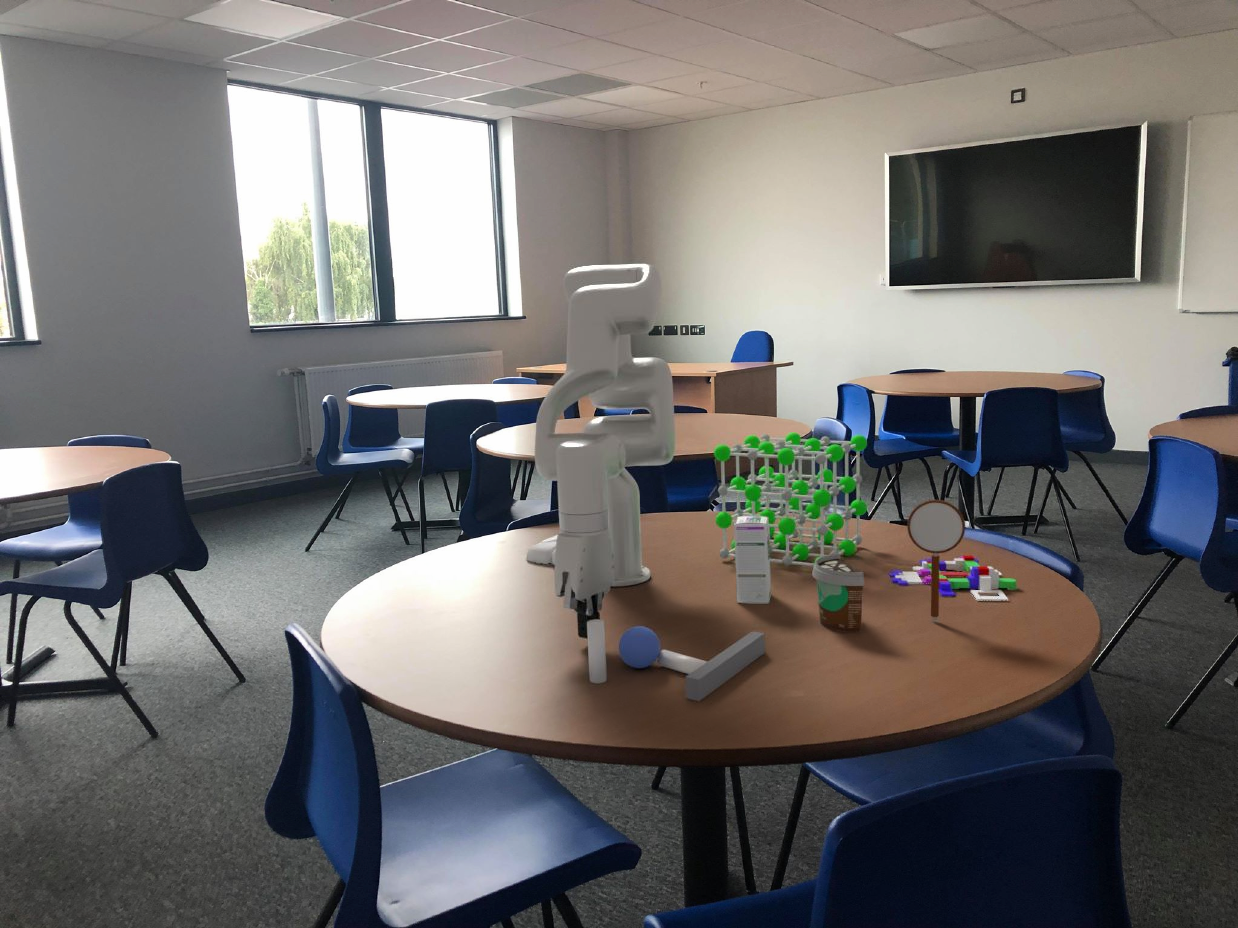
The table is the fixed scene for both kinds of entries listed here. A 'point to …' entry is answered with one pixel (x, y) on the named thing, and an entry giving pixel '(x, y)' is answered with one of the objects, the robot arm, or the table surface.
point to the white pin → (679, 662)
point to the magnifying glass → (936, 537)
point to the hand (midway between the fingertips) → (589, 636)
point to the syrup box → (752, 559)
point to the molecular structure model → (795, 494)
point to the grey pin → (596, 651)
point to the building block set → (975, 579)
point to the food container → (838, 594)
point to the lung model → (543, 551)
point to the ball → (639, 647)
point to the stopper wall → (724, 666)
